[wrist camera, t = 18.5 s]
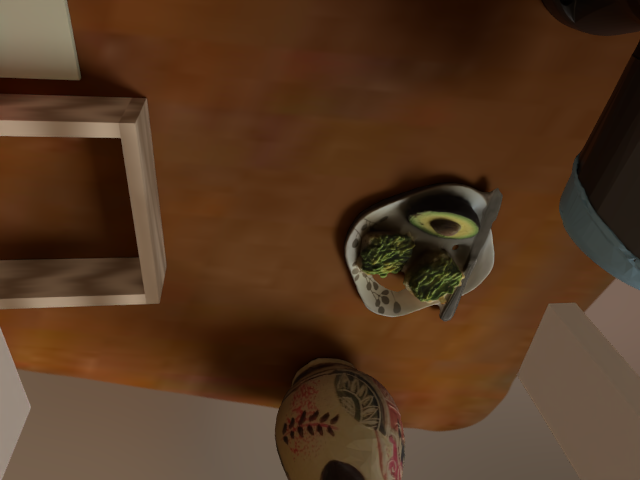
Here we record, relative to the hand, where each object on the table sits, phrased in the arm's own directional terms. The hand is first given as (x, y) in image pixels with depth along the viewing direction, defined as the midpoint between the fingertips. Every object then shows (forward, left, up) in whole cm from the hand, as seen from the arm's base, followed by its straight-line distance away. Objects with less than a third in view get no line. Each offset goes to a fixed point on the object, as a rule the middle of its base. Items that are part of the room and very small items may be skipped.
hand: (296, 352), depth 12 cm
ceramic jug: (-10, +42, -35) cm, 56 cm away
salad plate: (-19, +21, -35) cm, 45 cm away
